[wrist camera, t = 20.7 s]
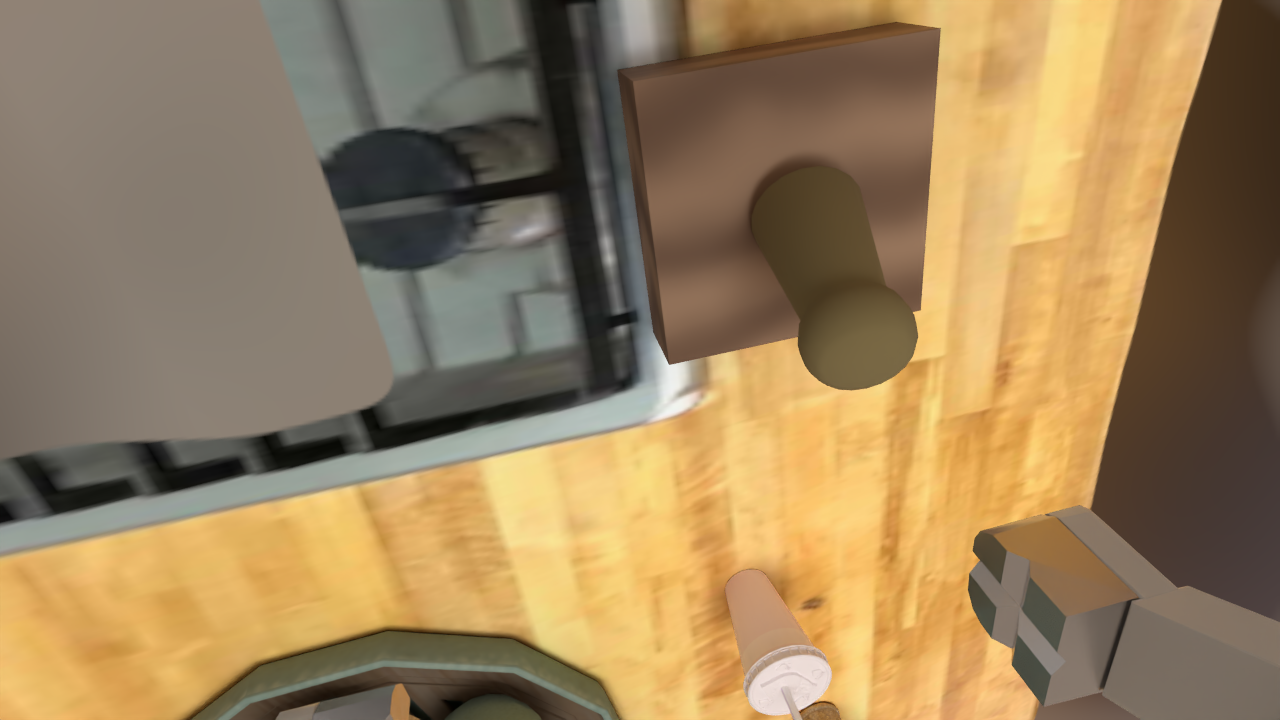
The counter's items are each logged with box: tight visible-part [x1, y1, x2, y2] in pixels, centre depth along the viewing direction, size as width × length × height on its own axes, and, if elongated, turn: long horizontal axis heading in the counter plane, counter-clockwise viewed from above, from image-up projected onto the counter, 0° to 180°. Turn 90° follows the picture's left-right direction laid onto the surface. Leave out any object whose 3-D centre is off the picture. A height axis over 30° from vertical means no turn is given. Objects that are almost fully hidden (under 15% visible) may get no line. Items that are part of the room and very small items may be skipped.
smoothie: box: [725, 569, 832, 720], centre depth 54 cm, size 6×6×14 cm
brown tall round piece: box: [751, 166, 918, 390], centre depth 35 cm, size 6×6×11 cm
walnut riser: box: [617, 22, 941, 365], centre depth 42 cm, size 16×16×5 cm
